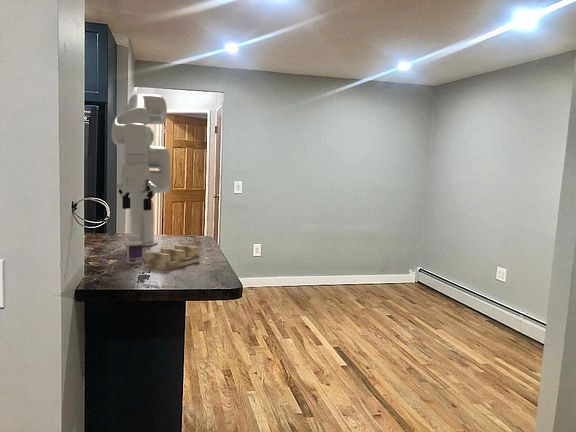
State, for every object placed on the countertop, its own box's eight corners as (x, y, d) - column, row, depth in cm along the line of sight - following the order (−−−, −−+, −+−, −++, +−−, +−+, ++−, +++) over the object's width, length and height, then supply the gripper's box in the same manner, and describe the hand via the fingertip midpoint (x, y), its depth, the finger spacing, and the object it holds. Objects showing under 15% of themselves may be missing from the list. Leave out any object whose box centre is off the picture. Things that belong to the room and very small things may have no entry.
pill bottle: (145, 262, 164) (145, 235, 163) (133, 264, 160) (133, 237, 159) (135, 260, 167) (134, 233, 166) (123, 262, 162) (122, 235, 161)
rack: (144, 266, 157) (144, 251, 156) (177, 258, 172) (177, 244, 171) (168, 270, 153) (167, 254, 152) (199, 261, 167) (199, 247, 167)
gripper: (109, 159, 160) (110, 208, 162) (147, 160, 153) (148, 211, 155) (125, 160, 167) (126, 207, 169) (163, 160, 159) (163, 210, 161)
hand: (136, 209), depth 162 cm, fingers open, 9 cm apart
